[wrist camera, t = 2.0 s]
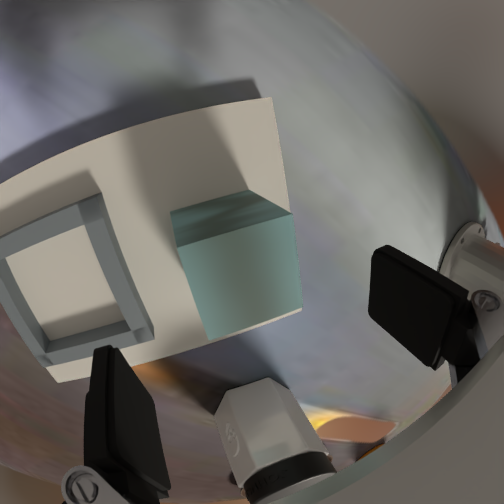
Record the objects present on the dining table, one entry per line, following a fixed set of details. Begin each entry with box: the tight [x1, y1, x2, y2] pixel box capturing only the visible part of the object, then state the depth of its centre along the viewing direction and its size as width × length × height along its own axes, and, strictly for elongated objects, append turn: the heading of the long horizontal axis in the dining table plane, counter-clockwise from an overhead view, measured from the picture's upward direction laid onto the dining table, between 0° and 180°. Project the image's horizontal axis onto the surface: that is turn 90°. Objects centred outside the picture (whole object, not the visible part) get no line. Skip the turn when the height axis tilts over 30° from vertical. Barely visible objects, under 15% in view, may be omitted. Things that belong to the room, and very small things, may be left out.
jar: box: [214, 377, 337, 504], centre depth 22 cm, size 9×8×12 cm
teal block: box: [170, 190, 303, 341], centre depth 15 cm, size 5×5×6 cm
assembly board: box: [0, 97, 302, 383], centre depth 16 cm, size 22×16×3 cm
